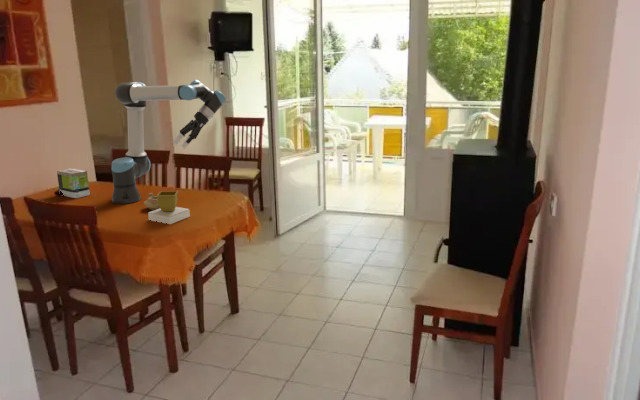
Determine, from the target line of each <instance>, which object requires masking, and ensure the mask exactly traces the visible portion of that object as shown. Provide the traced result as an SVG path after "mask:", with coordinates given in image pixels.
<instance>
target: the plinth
mask: <svg viewBox="0 0 640 400" xmlns="http://www.w3.org/2000/svg"><path fill="white" fill-rule="evenodd" d="M190 212H191V211H190V208H185V207H178V206H176V207H175V209H174V211H172V212H163V211H162V210H161V209H157V210H151V211H149V212H147V215H148V220H149V221H150V220H151V221H150V222H156V221H157V223H161V222H162V223H161V224H166V223H167V224H166V225H172V224H175V223H177V222H180V221H183V220H185V219H187V218H190V217H191V213H190Z"/></svg>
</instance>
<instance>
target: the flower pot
mask: <svg viewBox="0 0 640 400" xmlns="http://www.w3.org/2000/svg"><path fill="white" fill-rule="evenodd" d="M156 196H157V200H158V204H159V207H160V209H161V210H162V211H163V212H172V211H174V209H175V207H177V204H178V196H179V191H178V190H174V191H173V190H171V191H170V190H169V191H167V190H166V191H165V190H164V191H163V190H162V191H159V192H158V193H157V194H156Z"/></svg>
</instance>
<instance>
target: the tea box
mask: <svg viewBox="0 0 640 400" xmlns="http://www.w3.org/2000/svg"><path fill="white" fill-rule="evenodd" d="M56 173H57V175H56V176H57V182H58V190H59V192H60V191H61V192H62V193H63V195H64V197H68V198H72V199H78V198H82V197H87V196H89V195H91V194H90V185H89V178H88V170H84V169H78V168H73V167H72V168H71V167H70V168H66V169H61V170H60V169H59V170H57V171H56ZM63 195H62V196H63Z"/></svg>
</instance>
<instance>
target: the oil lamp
mask: <svg viewBox="0 0 640 400" xmlns="http://www.w3.org/2000/svg"><path fill="white" fill-rule="evenodd" d="M143 205H144V206H145V207H146V208H147V209H149V210H151V211H154V210H157V209H160V207H159V204H158V200H157V195H154V193H153V192H150V193H148V197H147V199H146V200H145V201H144V202H143Z"/></svg>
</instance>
